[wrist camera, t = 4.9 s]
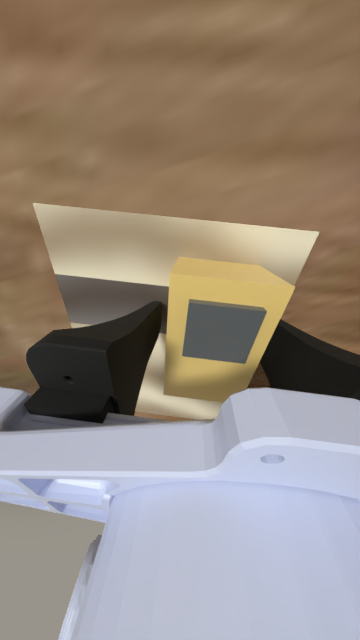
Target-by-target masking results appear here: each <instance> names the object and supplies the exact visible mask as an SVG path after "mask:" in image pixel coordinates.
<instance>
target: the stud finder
mask: <svg viewBox="0 0 360 640" xmlns="http://www.w3.org/2000/svg"><path fill="white" fill-rule="evenodd" d="M294 289H295V287H294V286H293V285H291V284H289V283H288V282H286V281H284V280H283V279H281V278H280V277H278V276H276V275H275V274H273V273H271V272H270V271H268V270H266V269H265V268H263V267H261V266H259V265H250V264H241V263H231V262H222V261H213V260H203V259H194V258H185V257H178V259H177V261H176V263H175V265H174V266H173V268H172V270H171V272H170V279H169V298H168V316H167V335H166V354H165V372H164V391H163V395H168V396H176V397H183V398H191V399H199V400H207V401H214V402H222V403H224V402H225V401H226V400H227V399H228V398H229V397H230V396H231V395H232V394H233V393H236V392H239V391H241V390H244V389H246V388H247V387H248V385H249V383H250V381H251V379H252V377H253V375H254V372H255V370H256V368H257V366H258V364H259V362H260V360H261V358H262V356H263V354H264V352H265V350H266V347H267V345H268V343H269V341H270V339H271V337H272V335H273V333H274V331H275V329H276V327H277V325H278V323H279V320H280V318H281V316H282V314H283V312H284V310H285V308H286V306H287V304H288V302H289V300H290V298H291V295H292V293H293V291H294Z"/></svg>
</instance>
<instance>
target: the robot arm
mask: <svg viewBox="0 0 360 640" xmlns="http://www.w3.org/2000/svg"><path fill="white" fill-rule="evenodd" d="M161 312H162V302H158V301H152V302H150V303H148V304H147V305H145V306H143V307H141V308H140V309H138V310H136V311H134V312H132V313H130V314H128V315H125V316H123V317H120V318H117V319H114V320H111V321H107V322H104V323H100V324H96V325H91V326H85V327H79V328H71V329H62V330H53V331H52V332H50V333H49V334H48V335H46V336H45V337H44V338H42V339H41V340H40V341H38V342H37V343H36V344H34V345H33V346H32V347H30V348H29V349H28V351H27V353H26V360H27V364H28V366H29V368H30V370H31V372H32V374H33V375H34V377H35V379H36V380H37V382H38V384H39V386H40V388H39V389H38V390H37V391H36V392H35V393H34V394H33V395H31V394H30V393H28V392H26V391H24V390H20V389H12V388H5V387H0V501H2V502H7V503H13V504H17V505H23V506H28V507H33V508H37V509H42V510H46V511H51V512H56V513H61V514H66V515H70V516H75V517H80V518H84V519H89V520H94V521H98V522H103V523H106V524H105V527H104V530H103V534H102V535H98V536H97V538H96V539H95V540H94V541H93V542H92V543H91V544H90V546H89V549H88V552H87V554H86V556H85V559H84V562H83V565H82V567H81V570H80V573H79V576H78V579H77V582H76V585H75V588H74V591H73V594H72V597H71V600H70V603H69V606H68V609H67V613H66V616H65V619H64V622H63V625H62V628H61V632H60V635H59V638H58V640H360V355H357V354H355V353H352V352H349V351H346V350H343V349H341V348H338V347H336V346H333V345H331V344H329V343H326V342H324V341H322V340H319V339H317V338H315V337H313V336H311V335H309V334H307V333H305V332H303V331H301V330H299V329H297V328H296V327H294V326H292V325H290V324H288V323H286V322H285V321H283V320H281V319H280V320H279V323H278V325H277V327H276V329H275V331H274V333H273V335H272V337H271V339H270V341H269V343H268V345H267V347H266V350H265V352H264V354H263V356H262V358H261V360H260V363H261V365H262V367H263V369H264V371H265V373H266V376H267V378H268V381H269V383H270V387H271V388H268V387H261V388H246V389H244V390H241V391H239V392H236V393H233V394H232V395H231V396H230V397H229V398H228V399H227V400H226V401H225V402H224V403H223V404H222V405H221V408H220V410H219V413H218V416H217V417H216V419H203V420H186V421H167V420H159V419H152V418H144V417H137V416H134V413H135V409H136V405H137V401H138V397H139V393H140V389H141V385H142V382H143V378H144V374H145V371H146V367H147V364H148V361H149V359H150V356H151V354H152V351H153V349H154V347H155V344H156V342H157V339H158V336H159V332H160V328H161Z"/></svg>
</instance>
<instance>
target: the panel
mask: <svg viewBox="0 0 360 640" xmlns="http://www.w3.org/2000/svg"><path fill="white" fill-rule="evenodd" d="M33 206H34V209H35V212H36V215H37V218H38V222H39V225H40V228H41V231H42V234H43V237H44V240H45V244H46V247H47V250H48V253H49V256H50V259H51V263H52V266H53V269H54V272H55V275H56V278H57V282H58V285H59V288H60V291H61V294H62V297H63V301H64V304H65V307H66V310H67V313H68V316H69V319H70V323H71V326H72V328H79V327H85V326H91V325H96V324H100V323H104V322H107V321H111V320H114V319H117V318H120V317H123V316H125V315H128V314H130V313H132V312H134V311H136V310H138V309H140V308H141V307H143V306H145V305H147V304H148V303H150V302H152V301H158V302H162V312H161V328H160V332H159V336H158V339H157V342H156V344H155V347H154V349H153V351H152V354H151V356H150V359H149V361H148V364H147V367H146V371H145V374H144V378H143V382H142V385H141V389H140V393H139V397H138V401H137V405H136V409H135V411H138V412H146V413H153V414H161V415H168V416H176V417H183V418H191V419H199V420H203V419H216V417H217V416H218V413H219V410H220V408H221V405H222V404H223V403H222V402H214V401H207V400H199V399H191V398H183V397H176V396H168V395H163V391H164V372H165V354H166V335H167V316H168V298H169V279H170V272H171V270H172V268H173V266H174V265H175V263H176V261H177V259H178V257H185V258H194V259H203V260H213V261H222V262H231V263H241V264H250V265H259V266H261V267H263V268H265V269H266V270H268V271H270V272H271V273H273V274H275V275H276V276H278V277H280V278H281V279H283V280H284V281H286V282H288V283H289V284H291V285H293V286H294V285H295V282H296V280H297V278H298V276H299V274H300V272H301V270H302V268H303V266H304V263H305V261H306V259H307V257H308V255H309V253H310V251H311V249H312V247H313V244H314V242H315V240H316V238H317V236H318V234H319V232H314V231H304V230H294V229H285V228H275V227H265V226H255V225H245V224H235V223H225V222H215V221H206V220H196V219H186V218H176V217H166V216H156V215H146V214H136V213H127V212H117V211H107V210H97V209H87V208H77V207H67V206H57V205H48V204H38V203H33Z"/></svg>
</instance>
